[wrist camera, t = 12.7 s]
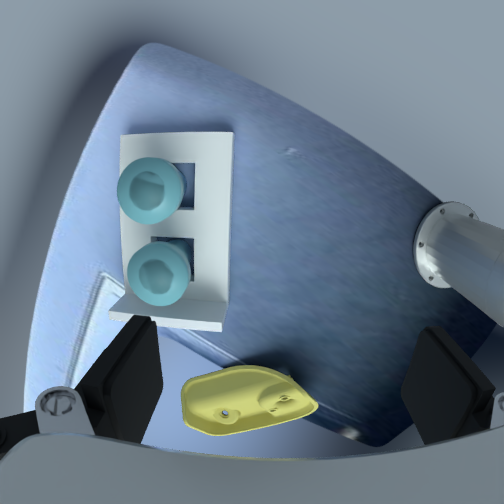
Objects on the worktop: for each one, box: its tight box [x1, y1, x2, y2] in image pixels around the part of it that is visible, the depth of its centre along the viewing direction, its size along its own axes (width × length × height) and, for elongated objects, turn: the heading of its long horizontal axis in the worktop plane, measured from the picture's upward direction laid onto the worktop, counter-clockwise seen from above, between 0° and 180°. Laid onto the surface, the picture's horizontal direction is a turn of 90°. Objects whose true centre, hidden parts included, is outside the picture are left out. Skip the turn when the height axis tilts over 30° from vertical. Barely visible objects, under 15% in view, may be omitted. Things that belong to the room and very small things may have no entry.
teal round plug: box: [117, 157, 187, 224], centre depth 34 cm, size 7×7×9 cm
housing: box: [108, 132, 235, 332], centre depth 36 cm, size 14×22×8 cm, turn 177°
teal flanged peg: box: [127, 239, 192, 306], centre depth 37 cm, size 7×7×9 cm
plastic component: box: [181, 365, 318, 436], centre depth 45 cm, size 20×7×10 cm
